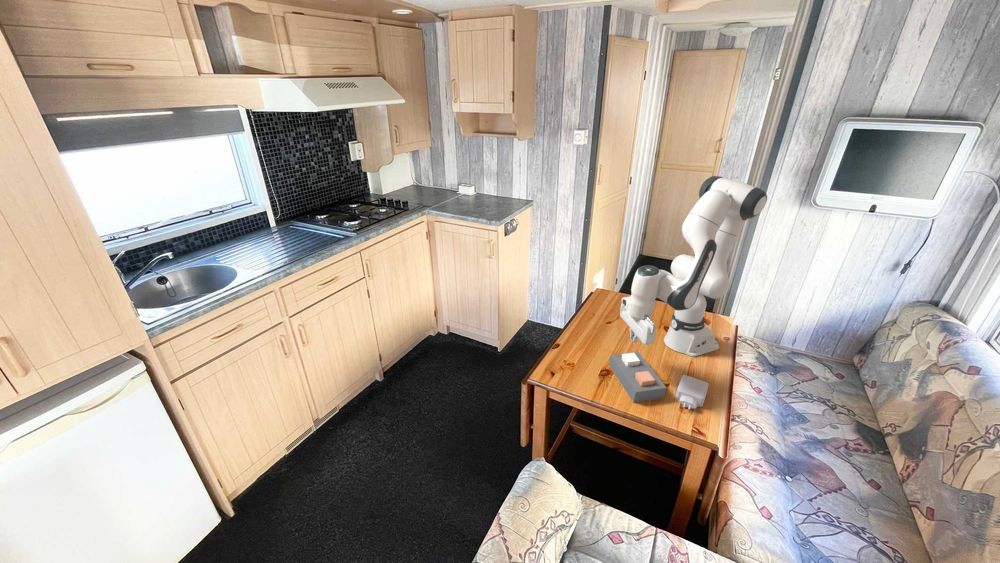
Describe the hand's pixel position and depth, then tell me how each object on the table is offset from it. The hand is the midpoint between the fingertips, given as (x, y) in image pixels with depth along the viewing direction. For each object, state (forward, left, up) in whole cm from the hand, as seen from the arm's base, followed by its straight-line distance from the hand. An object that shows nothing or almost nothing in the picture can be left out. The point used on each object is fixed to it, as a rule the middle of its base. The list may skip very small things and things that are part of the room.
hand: (633, 339), depth 152 cm
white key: (0, 0, -12) cm, 12 cm away
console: (0, +5, -16) cm, 16 cm away
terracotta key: (0, +11, -12) cm, 16 cm away
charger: (-15, +18, -16) cm, 29 cm away
